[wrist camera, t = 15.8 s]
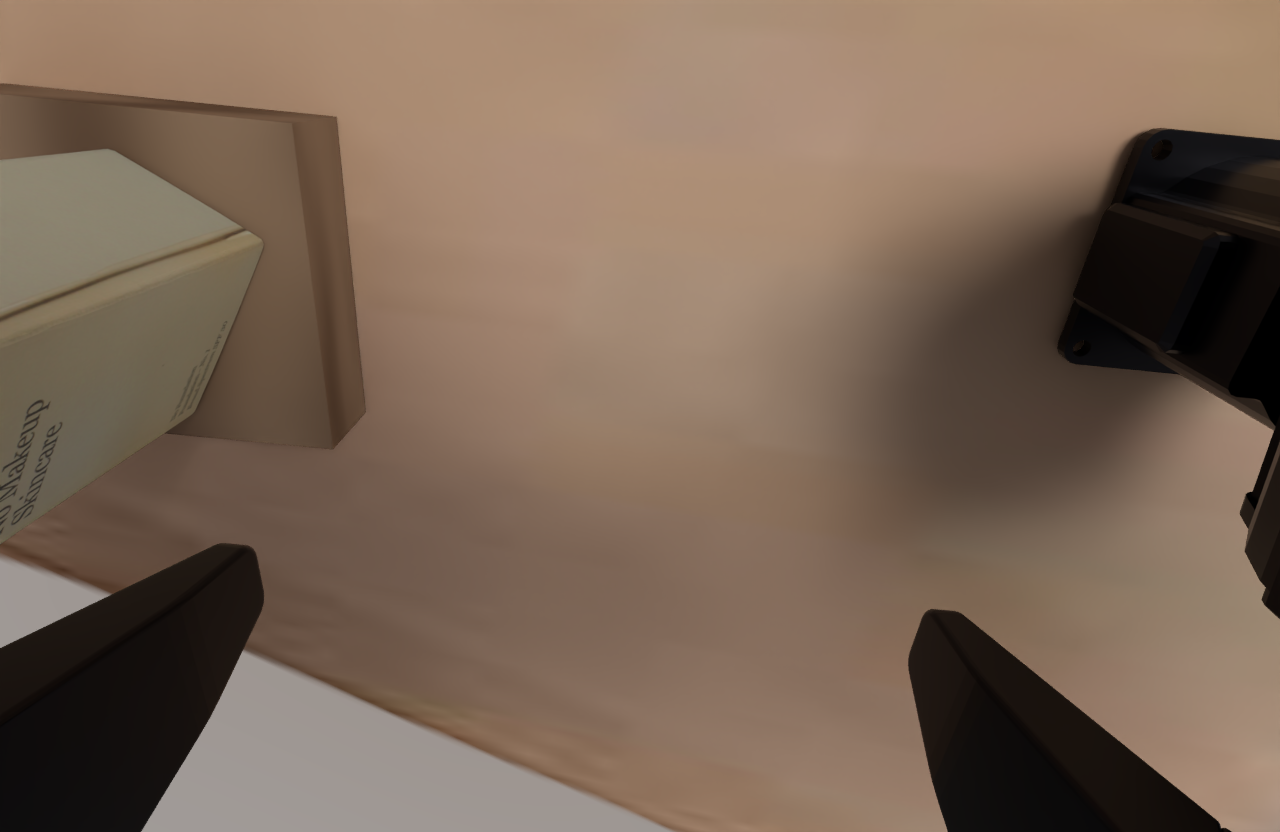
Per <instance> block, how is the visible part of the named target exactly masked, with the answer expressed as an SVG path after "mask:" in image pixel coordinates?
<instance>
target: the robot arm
mask: <svg viewBox="0 0 1280 832" xmlns="http://www.w3.org/2000/svg"><path fill="white" fill-rule="evenodd" d="M1160 140H1161V141H1162V143H1163V147H1162V150H1161V152H1160V153H1159V155H1157V156H1156V157H1154V158H1153V157H1152V155H1151V153H1152V148H1153V147H1154V145H1155V144H1156V143H1157V142H1159V141H1160ZM1073 296H1074V298H1075V300H1074V303H1073V305H1072V308H1071V310H1070V313H1069V316H1068V318H1067V321H1066V323H1065V326H1064V329H1063V331H1062V334H1061V336H1060V339H1059V342H1058V347H1057V349H1058V352H1059V354H1060V355H1061V356H1062V357H1063V358H1065V359H1066V360H1067V361H1069V362H1070V363H1074V364H1079V365H1090V366H1100V367H1110V368H1120V369H1131V370H1141V371H1151V372H1161V373H1171V374H1180V375H1182V376H1184V377H1185V378H1187V379H1189V380H1190V381H1192V382H1194V383H1195V384H1197V385H1199V386H1200V387H1202V388H1204V389H1205V390H1207V391H1209V392H1210V393H1212V394H1214V395H1215V396H1217V397H1219V398H1220V399H1222V400H1224V401H1225V402H1227V403H1229V404H1230V405H1232V406H1234V407H1235V408H1237V409H1239V410H1240V411H1242V412H1244V413H1245V414H1247V415H1249V416H1250V417H1252V418H1254V419H1255V420H1257V421H1259V422H1260V423H1262V424H1264V425H1265V426H1267V427H1269V428H1270V429H1272V430H1274V433H1273V435H1272V438H1271V441H1270V444H1269V447H1268V450H1267V452H1266V455H1265V458H1264V461H1263V464H1262V467H1261V470H1260V472H1259V475H1258V478H1257V481H1256V484H1255V487H1254V489H1253V492H1248V493H1247V494H1246V496H1245V499H1244V501H1243V504H1242V507H1241V510H1240V516H1241V517H1242V519H1243V521H1244V523H1245V524H1246V526H1247V528H1248V529H1249V530H1248V535H1247V541H1246V546H1245V553H1246V555H1247V557H1248V559H1249V561H1250V563H1251V564H1252V566H1253V568H1254V570H1255V572H1256V574H1257V576H1258V578H1259V580H1260V581H1261V583H1262V584H1263V585H1264V586H1265V587H1266V588H1265V591H1264V594H1263V596H1262V601H1263V603H1264V605H1265V606H1266V607H1267V608H1268V609H1269V610H1270V611H1271V612H1272V613H1273V614H1275V615H1276V616H1277V617H1278V618H1279V619H1280V140H1274V139H1264V138H1254V137H1245V136H1235V135H1225V134H1215V133H1205V132H1195V131H1185V130H1175V129H1165V128H1156V129H1151V130H1149V131H1147V132H1145V133H1144V134H1143V135H1142V136H1141V137H1140V138H1139V139H1138V140H1137V142H1136V143H1135V145H1134V147H1133V150H1132V152H1131V155H1130V157H1129V160H1128V163H1127V165H1126V168H1125V170H1124V173H1123V176H1122V178H1121V181H1120V183H1119V186H1118V188H1117V191H1116V194H1115V196H1114V199H1113V201H1112V204H1111V207H1109V208H1108V209H1107V210H1106V211H1105V213H1104V215H1103V218H1102V220H1101V223H1100V225H1099V228H1098V231H1097V233H1096V236H1095V238H1094V241H1093V244H1092V246H1091V249H1090V252H1089V254H1088V257H1087V259H1086V262H1085V265H1084V267H1083V270H1082V272H1081V275H1080V278H1079V280H1078V283H1077V285H1076V288H1075V291H1074V294H1073ZM1083 340H1084V344H1083V346H1082V347H1081V349H1079V350H1077V351H1073V347H1074V346H1075V344H1076V343H1078V342H1079V341H1083ZM263 603H264V590H263V585H262V580H261V575H260V570H259V565H258V560H257V556H256V552H255V551H254V549H253V548H252V547H250V546H247V545H238V544H227V543H221V544H217V545H214V546H212V547H210V548H208V549H206V550H204V551H202V552H200V553H198V554H195V555H193V556H191V557H189V558H187V559H185V560H183V561H181V562H179V563H177V564H175V565H173V566H171V567H168V568H166V569H164V570H162V571H160V572H158V573H156V574H154V575H152V576H150V577H148V578H146V579H143V580H141V581H139V582H137V583H135V584H133V585H131V586H129V587H127V588H125V589H123V590H121V591H118V592H116V593H114V594H112V595H110V596H108V597H106V598H104V599H102V600H100V601H98V602H96V603H93V604H91V605H89V606H87V607H85V608H83V609H81V610H79V611H77V612H75V613H73V614H71V615H68V616H66V617H64V618H62V619H60V620H58V621H56V622H54V623H52V624H50V625H48V626H46V627H43V628H41V629H39V630H37V631H35V632H33V633H31V634H29V635H27V636H25V637H23V638H20V639H19V640H17V641H14V642H12V643H10V644H8V645H6V646H4V647H2V648H0V832H141V831H142V829H143V828H144V826H145V824H146V823H147V821H148V819H149V818H150V816H151V814H152V813H153V811H154V810H155V808H156V806H157V805H158V803H159V801H160V800H161V798H162V796H163V795H164V793H165V791H166V790H167V788H168V787H169V785H170V783H171V782H172V780H173V778H174V777H175V775H176V773H177V772H178V770H179V768H180V767H181V765H182V764H183V762H184V760H185V759H186V757H187V755H188V754H189V752H190V750H191V749H192V747H193V745H194V743H195V742H196V741H197V739H198V737H199V735H200V734H201V732H202V730H203V729H204V727H205V725H206V724H207V722H208V720H209V718H210V717H211V715H212V712H213V711H214V709H215V707H216V705H217V703H218V701H219V699H220V697H221V695H222V693H223V691H224V689H225V687H226V684H227V682H228V680H229V678H230V676H231V674H232V672H233V670H234V668H235V665H236V663H237V661H238V659H239V657H240V655H241V653H242V651H243V649H244V647H245V644H246V642H247V640H248V638H249V636H250V634H251V632H252V630H253V628H254V626H255V623H256V621H257V619H258V617H259V615H260V613H261V610H262V607H263ZM908 667H909V674H910V679H911V684H912V689H913V694H914V698H915V703H916V708H917V713H918V718H919V723H920V727H921V732H922V737H923V742H924V747H925V751H926V756H927V761H928V766H929V770H930V774H931V778H932V782H933V786H934V789H935V793H936V796H937V799H938V803H939V806H940V809H941V812H942V815H943V818H944V821H945V824H946V827H947V831H948V832H1231V831H1230V830H1228V829H1227V828H1221V826H1220V823H1219V822H1218V821H1217V820H1216V819H1215V818H1213V817H1212V816H1211V815H1210V814H1209V813H1207V812H1206V811H1205V810H1204V809H1202V808H1201V807H1200V806H1199V805H1197V804H1196V803H1195V802H1194V801H1192V800H1191V799H1190V798H1189V797H1188V796H1186V795H1185V794H1184V793H1183V792H1181V791H1180V790H1179V789H1178V788H1176V787H1175V786H1174V785H1173V784H1171V783H1170V782H1169V781H1168V780H1167V779H1165V778H1164V777H1163V776H1162V775H1160V774H1159V773H1158V772H1157V771H1155V770H1154V769H1153V768H1152V767H1150V766H1149V765H1148V764H1147V763H1146V762H1144V761H1143V760H1142V759H1141V758H1139V757H1138V756H1137V755H1136V754H1134V753H1133V752H1132V751H1131V750H1129V749H1128V748H1127V747H1126V746H1125V745H1123V744H1122V743H1121V742H1120V741H1118V740H1117V739H1116V738H1115V737H1113V736H1112V735H1111V734H1110V733H1108V732H1107V731H1106V730H1105V729H1104V728H1102V727H1101V726H1100V725H1099V724H1097V723H1096V722H1095V721H1094V720H1092V719H1091V718H1090V717H1089V716H1087V715H1086V714H1085V713H1084V712H1083V711H1081V710H1080V709H1079V708H1078V707H1076V706H1075V705H1074V704H1073V703H1071V702H1070V701H1069V700H1068V699H1066V698H1065V697H1064V696H1063V695H1062V694H1060V693H1059V692H1058V691H1057V690H1055V689H1054V688H1053V687H1052V686H1050V685H1049V684H1048V683H1047V682H1045V681H1044V680H1043V679H1042V678H1041V677H1039V676H1038V675H1037V674H1036V673H1034V672H1033V671H1032V670H1031V669H1029V668H1028V667H1027V666H1026V665H1024V664H1023V663H1022V662H1021V661H1020V660H1018V659H1017V658H1016V657H1015V656H1013V655H1012V654H1011V653H1010V652H1008V651H1007V650H1006V649H1005V648H1003V647H1002V646H1001V645H1000V644H999V643H997V642H996V641H995V640H994V639H992V638H991V637H990V636H989V635H987V634H986V633H985V632H984V631H982V630H981V629H980V628H979V627H978V626H976V625H975V624H974V623H973V622H971V621H970V620H969V619H968V618H966V617H965V616H964V615H962V614H961V613H959V612H956V611H948V610H938V609H930V610H928V611H926V612H925V614H924V615H923V617H922V619H921V622H920V625H919V628H918V631H917V633H916V636H915V639H914V642H913V645H912V647H911V650H910V653H909V659H908Z"/></svg>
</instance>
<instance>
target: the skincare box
mask: <svg viewBox="0 0 1280 832" xmlns="http://www.w3.org/2000/svg"><path fill="white" fill-rule="evenodd" d="M263 246H264V243H263V241H262V239H261V238H259V237H257V236H256V235H254V234H253V233H251V232H249V231H247V230H246V229H244V228H243V227H241V226H240V225H238V224H236V223H235V222H233V221H231V220H230V219H228V218H227V217H225V216H223V215H222V214H220V213H218V212H217V211H215V210H213V209H212V208H210V207H208V206H207V205H205V204H203V203H202V202H200V201H198V200H197V199H195V198H193V197H192V196H190V195H188V194H187V193H185V192H183V191H182V190H180V189H178V188H177V187H175V186H173V185H172V184H170V183H168V182H167V181H165V180H163V179H162V178H160V177H158V176H157V175H155V174H153V173H151V172H150V171H148V170H146V169H145V168H143V167H141V166H140V165H138V164H136V163H135V162H133V161H131V160H129V159H128V158H126V157H124V156H123V155H121V154H119V153H118V152H116V151H113V150H110V149H101V150H91V151H82V152H73V153H64V154H54V155H44V156H34V157H25V158H15V159H6V160H0V544H1V543H3V542H4V541H6V540H7V539H9V538H10V537H12V536H13V535H15V534H16V533H17V532H19V531H20V530H22V529H23V528H25V527H26V526H28V525H29V524H31V523H32V522H34V521H35V520H37V519H38V518H40V517H41V516H43V515H44V514H45V513H47V512H48V511H50V510H51V509H53V508H54V507H56V506H57V505H59V504H60V503H62V502H63V501H65V500H66V499H68V498H69V497H71V496H72V495H74V494H75V493H77V492H78V491H79V490H81V489H82V488H84V487H85V486H87V485H88V484H90V483H91V482H93V481H94V480H96V479H97V478H99V477H100V476H102V475H103V474H105V473H106V472H108V471H109V470H111V469H112V468H114V467H115V466H117V465H118V464H120V463H121V462H122V461H124V460H125V459H127V458H128V457H130V456H131V455H133V454H134V453H136V452H137V451H139V450H140V449H142V448H143V447H145V446H146V445H147V444H149V443H150V442H152V441H154V440H155V439H157V438H158V437H160V436H161V435H162V434H164V433H165V432H167V431H168V430H170V429H171V428H173V427H174V426H176V425H177V424H179V423H180V422H182V421H183V420H185V419H186V418H188V417H189V416H191V415H192V414H193V413H194V412H195V410H196V408H197V406H198V403H199V401H200V399H201V397H202V394H203V392H204V390H205V388H206V385H207V383H208V381H209V379H210V376H211V374H212V372H213V369H214V367H215V365H216V362H217V360H218V358H219V355H220V353H221V351H222V348H223V346H224V344H225V341H226V339H227V336H228V334H229V331H230V329H231V327H232V324H233V322H234V320H235V317H236V315H237V313H238V310H239V308H240V305H241V303H242V300H243V298H244V295H245V293H246V290H247V288H248V285H249V283H250V280H251V278H252V275H253V273H254V270H255V268H256V265H257V263H258V260H259V258H260V255H261V252H262V250H263Z"/></svg>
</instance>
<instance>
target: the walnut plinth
mask: <svg viewBox="0 0 1280 832" xmlns="http://www.w3.org/2000/svg"><path fill="white" fill-rule="evenodd" d="M101 149H110V150H113V151H116V152H118V153H119V154H121V155H123V156H124V157H126V158H128V159H129V160H131V161H133V162H135V163H136V164H138V165H140V166H141V167H143V168H145V169H146V170H148V171H150V172H151V173H153V174H155V175H157V176H158V177H160V178H162V179H163V180H165V181H167V182H168V183H170V184H172V185H173V186H175V187H177V188H178V189H180V190H182V191H183V192H185V193H187V194H188V195H190V196H192V197H193V198H195V199H197V200H198V201H200V202H202V203H203V204H205V205H207V206H208V207H210V208H212V209H213V210H215V211H217V212H218V213H220V214H222V215H223V216H225V217H227V218H228V219H230V220H231V221H233V222H235V223H236V224H238V225H240V226H241V227H243V228H244V229H246V230H247V231H249V232H251V233H253V234H254V235H256V236H257V237H259V238H261V239H262V241H263V243H264V246H263V250H262V252H261V255H260V258H259V260H258V263H257V265H256V268H255V270H254V273H253V275H252V278H251V280H250V283H249V285H248V288H247V290H246V293H245V295H244V298H243V300H242V303H241V305H240V308H239V310H238V313H237V315H236V317H235V320H234V322H233V324H232V327H231V329H230V331H229V334H228V336H227V339H226V341H225V344H224V346H223V348H222V351H221V353H220V355H219V358H218V360H217V362H216V365H215V367H214V369H213V372H212V374H211V376H210V379H209V381H208V383H207V385H206V388H205V390H204V392H203V394H202V397H201V399H200V401H199V403H198V406H197V408H196V410H195V412H194V413H193V414H192V415H191V416H189V417H188V418H186V419H185V420H183V421H182V422H180V423H179V424H177V425H176V426H174V427H173V428H171V429H170V430H168V431H167V432H165V433H168V434H178V435H189V436H199V437H209V438H220V439H230V440H241V441H251V442H261V443H272V444H282V445H293V446H303V447H314V448H324V449H334V448H335V446H336V445H337V444H338V443H339V442H340V441H341V440H342V438H343V437H344V436H345V435H346V434H347V433H348V432H349V430H350V429H351V428H352V427H353V426H354V425H355V424H356V422H357V421H358V420H359V419H360V418H361V417H362V416H363V414H364V413H365V401H364V391H363V381H362V371H361V361H360V351H359V341H358V331H357V320H356V310H355V300H354V290H353V280H352V270H351V260H350V249H349V239H348V229H347V219H346V209H345V199H344V189H343V179H342V168H341V158H340V148H339V138H338V128H337V118H336V117H333V116H323V115H313V114H303V113H293V112H283V111H274V110H264V109H254V108H244V107H234V106H224V105H214V104H204V103H194V102H184V101H174V100H164V99H154V98H144V97H134V96H124V95H114V94H104V93H94V92H84V91H74V90H64V89H54V88H44V87H34V86H24V85H14V84H0V160H6V159H15V158H25V157H34V156H44V155H54V154H64V153H73V152H82V151H91V150H101Z"/></svg>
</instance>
